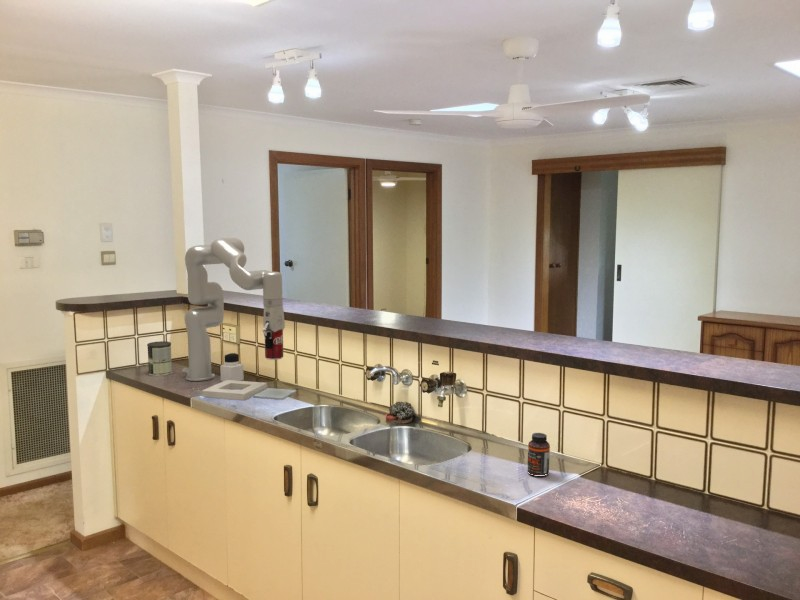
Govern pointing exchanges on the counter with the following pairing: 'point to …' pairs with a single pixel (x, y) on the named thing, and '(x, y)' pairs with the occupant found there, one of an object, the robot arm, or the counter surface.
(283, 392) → the mat
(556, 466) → the counter surface
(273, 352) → the soda can
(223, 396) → the collar dock
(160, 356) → the coffee can
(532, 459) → the supplement bottle
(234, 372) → the medicine bottle
